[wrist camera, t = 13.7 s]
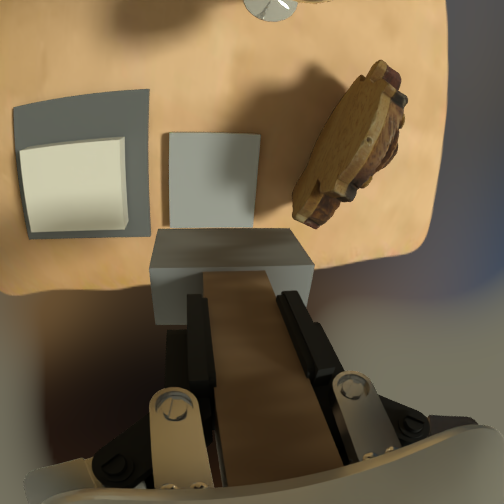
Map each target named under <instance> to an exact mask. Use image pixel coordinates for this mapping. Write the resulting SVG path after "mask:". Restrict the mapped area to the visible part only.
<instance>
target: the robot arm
mask: <svg viewBox="0 0 504 504" xmlns="http://www.w3.org/2000/svg"><path fill="white" fill-rule="evenodd" d="M276 302H277V305H278V308H279V310H280V313H281V315H282V318H283V320H284V323H285V325H286V328H287V330H288V333H289V335H290V338H291V340H292V343H293V345H294V348H295V350H296V353H297V356H298V358H299V361H300V363H301V366H302V368H303V371H304V373H305V376H306V378H309V380H310V382H311V385H312V387H313V390H314V392H315V395H316V397H317V400H318V402H319V405H320V407H321V410H322V412H323V415H324V417H325V420H326V422H327V425H328V427H329V430H330V432H331V435H332V437H333V440H334V442H335V445H336V447H337V450H338V452H339V455H340V457H341V460H342V463H343V465H344V466H343V467H340V468H336V469H332V470H328V471H324V472H320V473H315V474H311V475H306V476H301V477H296V478H291V479H285V480H280V481H273V482H267V483H260V484H252V485H244V486H234V487H222V488H214V485H213V480H212V476H211V471H210V466H209V461H208V456H207V450H206V447H207V446H209V445H210V444H211V443H212V441H213V440H212V430H215V415H214V387H217V384H216V371H215V363H214V354H213V346H212V337H211V327H210V318H209V308H208V298H202V294H187V330H167V338H166V340H167V341H166V363H165V389H162V390H160V391H158V392H157V393H156V394H155V395H154V396H153V397H152V399H151V401H150V406H149V410H150V412H149V413H148V414H147V415H145V416H144V417H143V418H141V419H140V420H139V421H138V422H136V423H135V424H134V425H132V426H131V427H130V428H128V429H127V430H126V431H124V432H123V433H121V434H120V435H119V436H117V437H116V438H115V439H113V440H112V441H111V442H109V443H108V444H107V445H105V446H104V447H102V448H101V449H100V450H99V451H98V452H97V453H95V455H94V457H92V458H89V459H86V460H84V459H83V458H80V459H76V460H72V461H68V462H65V463H61V464H57V465H53V466H48V467H44V468H40V469H35V470H33V471H31V472H29V473H28V474H27V475H26V476H25V479H24V490H25V494H26V497H27V500H28V504H504V436H503V435H502V434H501V433H500V432H499V431H498V430H496V429H495V428H493V427H491V426H486V425H479V424H478V423H477V422H476V421H475V420H474V419H472V418H471V417H464V416H440V415H429V416H428V417H426V416H424V415H423V414H422V413H421V412H419V411H417V410H414V409H412V408H409V407H407V406H405V405H402V404H400V403H397V402H395V401H392V400H390V399H387V398H385V397H383V396H380V395H378V394H377V391H376V389H375V387H374V385H373V383H372V382H371V380H370V379H369V378H368V377H367V376H366V375H364V374H362V373H360V372H356V371H344V369H343V367H342V365H341V363H340V361H339V359H338V357H337V355H336V353H335V351H334V350H333V347H332V345H331V343H330V342H329V339H328V338H327V336H326V334H325V332H324V330H323V328H322V326H321V325H320V323H318V322H314V323H313V321H312V319H311V317H310V315H309V313H308V311H307V309H306V307H305V305H304V303H303V301H302V299H301V297H300V295H299V293H298V291H297V290H292V291H282V292H281V295H277V296H276Z"/></svg>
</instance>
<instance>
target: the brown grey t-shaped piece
mask: <svg viewBox="0 0 504 504" xmlns="http://www.w3.org/2000/svg"><path fill="white" fill-rule="evenodd" d="M314 266H315V265H314V263H313V262H312V260H311V259H310V257H309V256H308V254H307V253H306V251H305V250H304V249H303V247H302V246H301V244H300V243H299V241H298V240H297V238H296V237H295V236H294V234H293V233H292V231H291V230H290V228H199V229H158V231H157V236H156V240H155V244H154V248H153V253H152V257H151V262H150V266H149V272H150V282H151V290H152V299H153V307H154V315H155V322H156V325H187V294H202V298H208V308H209V318H210V327H211V337H212V346H213V354H214V363H215V371H216V384H217V387H214V415H215V436H216V444H217V452H218V459H219V466H220V473H221V479H222V485H223V487H234V486H244V485H252V484H260V483H267V482H273V481H280V480H285V479H291V478H296V477H301V476H306V475H311V474H315V473H320V472H324V471H328V470H332V469H336V468H340V467H343V466H344V465H343V463H342V460H341V457H340V455H339V452H338V450H337V447H336V445H335V442H334V440H333V437H332V435H331V432H330V430H329V427H328V425H327V422H326V420H325V417H324V415H323V412H322V410H321V407H320V405H319V402H318V400H317V397H316V395H315V392H314V390H313V387H312V385H311V382H310V380H309V378H306V376H305V373H304V371H303V368H302V366H301V363H300V361H299V358H298V356H297V353H296V350H295V348H294V345H293V343H292V340H291V338H290V335H289V333H288V330H287V328H286V325H285V323H284V320H283V318H282V315H281V313H280V310H279V308H278V305H277V302H276V296H277V295H281V292H282V291H292V290H297V291H298V293H299V295H300V297H301V299H302V301H303V303H304V305H305V307H306V306H307V301H308V296H309V291H310V286H311V281H312V276H313V271H314Z"/></svg>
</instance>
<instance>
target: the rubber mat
mask: <svg viewBox="0 0 504 504" xmlns="http://www.w3.org/2000/svg"><path fill="white" fill-rule="evenodd" d="M149 91H150V89H140V90H124V91H113V92H102V93H93V94H85V95H78V96H71V97H64V98H58V99H52V100H47V101H41V102H36V103H31V104H27V105H22V106H18V107H14V136H15V151H16V162H17V171H18V179H19V187H20V194H21V200H22V206H23V212H24V217H25V222H26V227H27V232H28V237H29V239H61V238H103V237H150V236H151V224H150V204H149V174H148V120H149ZM111 137H125V170H126V191H127V206H128V219H129V221H128V223H127V225H126V228H125V230H86V231H55V232H31V228H30V223H29V218H28V212H27V206H26V200H25V194H24V187H23V179H22V171H21V161H20V150H23V149H25V148H27V147H30V146H37V145H43V144H51V143H59V142H67V141H76V140H86V139H98V138H111Z"/></svg>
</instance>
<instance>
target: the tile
mask: <svg viewBox="0 0 504 504" xmlns="http://www.w3.org/2000/svg"><path fill="white" fill-rule="evenodd" d="M20 161H21V171H22V179H23V187H24V194H25V200H26V206H27V212H28V218H29V223H30V228H31V232H55V231H86V230H125V228H126V225H127V223H128V221H129V219H128V206H127V191H126V170H125V137H111V138H98V139H86V140H76V141H67V142H59V143H51V144H43V145H37V146H30V147H27V148H25V149H23V150H20Z"/></svg>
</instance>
